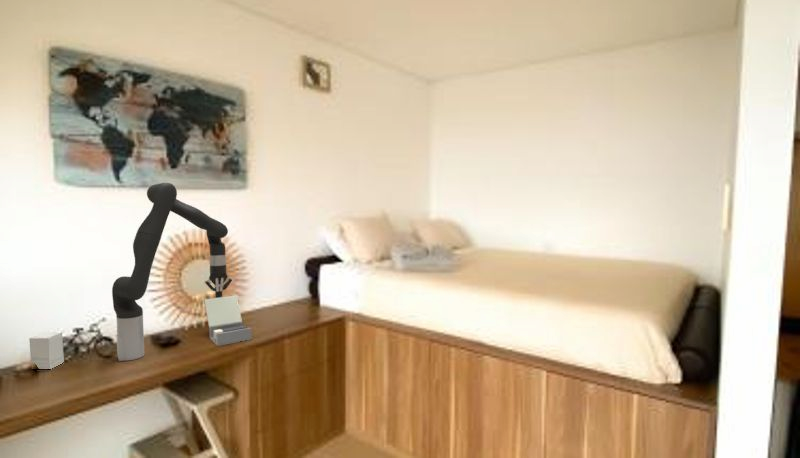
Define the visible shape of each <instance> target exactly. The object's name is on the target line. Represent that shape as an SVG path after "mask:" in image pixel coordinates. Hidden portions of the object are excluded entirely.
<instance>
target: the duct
mask: <svg viewBox="0 0 800 458" xmlns="http://www.w3.org/2000/svg"><path fill="white" fill-rule="evenodd" d="M243 324H244V323H243V321H242V322H236V323H230V324H224V325H218V326H212V327H209V326H208V327H209V339H210V340H211V342H213V343H214V344H215V345H216V346H217V347H220V346H225V345H229V344H236V343H240V341H242V342H246V341H245V340H247V341H252V340H251V339H252V338H253V337H252V327H247V328H245V329H239V330H234V331H228V332H222V333H217V341H215V340H214V333H213V330H218V329H226V328H231V327H237V326H243Z"/></svg>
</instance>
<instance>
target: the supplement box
mask: <svg viewBox="0 0 800 458" xmlns="http://www.w3.org/2000/svg"><path fill="white" fill-rule="evenodd" d="M28 339H29V352H30V353H29V354H30V364H31V363H35V364H36V365H37V367H38V368H39V369H51V370H53V369H55V368H54V367H56V366H58V365H60V364H62V363H63V362H64V363H65V358H64V356H65V355H64V341H63V332H59V331H58V332H53V331H51V332H49V331H47V332H45V331H43V332H42V333H39V334H37V335H34V336H31V337H29V338H28ZM64 363H63V364H64ZM63 364H62V365H63ZM60 366H61V365H60ZM58 367H59V366H58ZM52 368H53V369H52ZM56 368H57V367H56Z"/></svg>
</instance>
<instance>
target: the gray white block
mask: <svg viewBox="0 0 800 458" xmlns="http://www.w3.org/2000/svg"><path fill="white" fill-rule="evenodd" d="M245 328H248V327H247V326H246V325H243V326H237V327H231V328H226V329H218V330H213V333H214V340H215V341H217V333H222V332H228V331H234V330H239V329H245Z"/></svg>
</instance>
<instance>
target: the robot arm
mask: <svg viewBox="0 0 800 458" xmlns="http://www.w3.org/2000/svg"><path fill="white" fill-rule="evenodd" d="M177 196H178V191H177V188H176V185H174V184H172V183H170V182H160V183H157V184H156V183H155V184H153V185H150V186H149V187H148V188H147V190H146V197H147V200H149V201H150V203H153V204H152V208H151V210H150V211H149V213H148V215H147V216H146V217H145V219H144V220H143V221H142V223H141V224H140V225H139V227H138V229H137V230H136V234H135V236H134V239H133V242H132V249H133V251H132V252H133V256H134V267H133V270H132V273H131V275H130V276H127V275H126V276H125V275H124V276H120V277H117V279H116V280H115V281H114V282H113V284H112V290H111V294H112V295H111V297H112V304H113V310H114V312H115V317H116V349H117V351H116V353H117V358H118V361H119V362H123V361H126V362H127V361H134V360H137V359H141V358H143V357H144V356H145V335H144V332H145V331H144V311H143V309H144V308H143V307H142V306H141V305H140V304H138V302H136V301H138V300H140V299H141V298H143V297H144V295H145V293H146V291H147V290H148V289H147V288H148V286H149V281H150V277H151V276H150V275H151V270H152V266H153V263H154V259H155V257H156V254H157V250H158V247H159V245H160V242H161V241H162V240H161V239H162V236H163V232H164V230H165V227H166V224H167V220H168V218H169V216H170V213H171V212H172V213H174V214H175V215H177V216H179V217H180V218H183V219H184V220H186V221H188V222H189V223H191V224H193V225H194V226H196V227H197V228H198V229H201V230H204V231H206V239H207V242H208V245H209V263H208V264H209V277H208V279H207V280H205V281H204V283H205V285H206V286H207V287H208V288H209V289H210V290H211V291H213V292H214V294H215V296H214V298H219V297H223V291H224V290H227V288H228V287H229V286H230V284H231V283H232V282H233V280H232V278H231V277H230V278H229V276H228V274H227V258H226V257H227V256H226V244H225V243H224V242H222V239H223V238H226V236H227V235H228V232H229V230H228V228H227V226H226V225H225V224H224V223H222V222H220V221H218V220H217V219H215V218H212V217H211V216H209V215H208V214H207V213H205V212H204V211H202V210H201V209H198V208H197V207H194V206H193V205H190V204H188V203H185V202H183V201H181V200H179V199H178V198H177ZM211 283H212V284H213V285H212V284H211Z"/></svg>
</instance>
